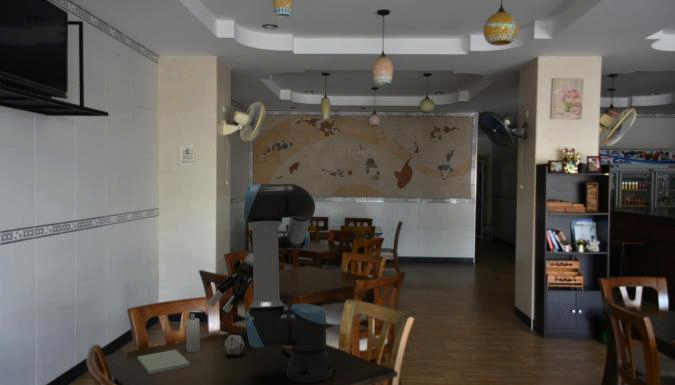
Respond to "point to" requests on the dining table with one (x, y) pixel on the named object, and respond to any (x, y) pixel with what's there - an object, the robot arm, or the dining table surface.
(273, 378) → the dining table surface
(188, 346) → the grey bottle
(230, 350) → the game die
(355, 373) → the dining table surface
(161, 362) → the sage board
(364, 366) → the dining table surface
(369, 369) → the dining table surface
